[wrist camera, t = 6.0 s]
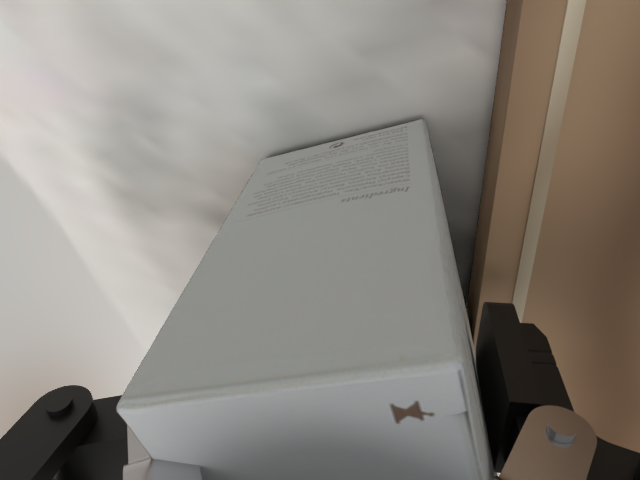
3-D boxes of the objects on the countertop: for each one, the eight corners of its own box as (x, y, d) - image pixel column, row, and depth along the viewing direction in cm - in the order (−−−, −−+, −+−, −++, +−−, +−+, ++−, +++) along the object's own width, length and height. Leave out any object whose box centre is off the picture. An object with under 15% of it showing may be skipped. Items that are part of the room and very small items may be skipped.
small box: (260, 155, 17) (96, 401, 8) (428, 112, 15) (466, 356, 6) (328, 336, 20) (270, 646, 11) (470, 316, 19) (530, 654, 10)
